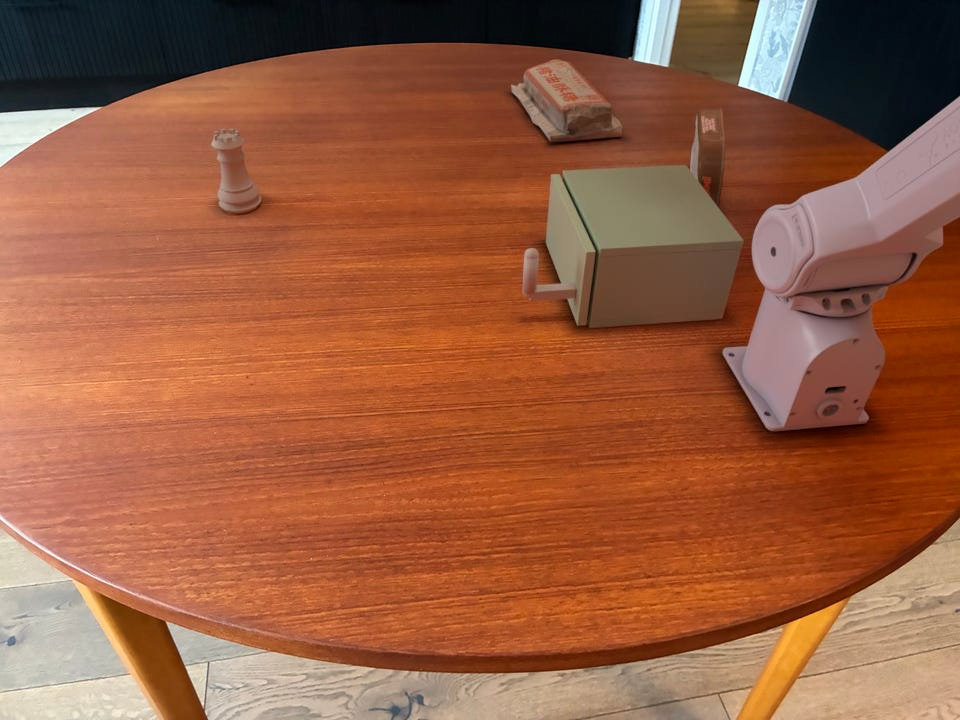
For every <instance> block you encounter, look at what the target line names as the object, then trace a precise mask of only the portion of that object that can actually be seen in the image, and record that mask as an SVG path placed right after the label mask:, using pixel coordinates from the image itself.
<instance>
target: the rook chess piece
mask: <svg viewBox="0 0 960 720" xmlns="http://www.w3.org/2000/svg"><path fill="white" fill-rule="evenodd" d="M212 136H213V139H212V141H211V144H210V145H211V147H212V148H213V149H214V150H215V151H217V156H216V160H217V161H218V162H219V166H220V177H221V178H220V179H221V180H220V183H219V188H218V190H217V198H218V206H219V208H221V209H222V210H223V211H225V212H227V213H230V214H234V215H235V214H236V215H237V214H246V213H250V212H252V211H254V210H256V209H257V208H258V207H259V206H260V204H261V202H262V196H261V195H260V189H259V187H258V185H257V184H256V183H254V180H253V178H251V176H250V174H249V172H248V169H247V167H246V166H247V165H246V163H245V156H246V154H245V152H244V151H243V149H242V148H243V146H244V144H245V139H244V137H242V136H241V135H240V131H239V129H237V130H236V129H235V128H231V127H230V128H229V132H227V129H226V128H220V131H219V130H215V131H214V132H213V135H212Z"/></svg>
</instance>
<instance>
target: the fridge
mask: <svg viewBox="0 0 960 720" xmlns="http://www.w3.org/2000/svg"><path fill="white" fill-rule="evenodd" d="M561 179H562V181H563V183H564V185H565V187H566V189H567V191H568V194H569V196H570V198H571V200H572V202H573V204H574V206H575V209H576V211H577V213H578V215H579V217H580V219H581V221H582V223H583V226H584V228H585V230H586V232H587V234H588V236H589V238H590V240H591V243H592V245H593V247H594V249H595V251H596V254H595V261H594V269H593V277H592V284H591V292H590V299H589V307H588V315H587V322H586V323H587V325H588V327H589V329H598V328H599V329H600V328H612V327H627V326H640V325H641V326H643V325H655V324H658V325H659V324H672V323H685V322H699V321H714V320H722V319H724V318H723V317H724V314H725V310H726V306H727V303H728V299H729V296H730V292H731V288H732V284H733V281H734V278H735V274H736V270H737V266H738V262H739V260H740V256H741V253H742V252H741V251H742V248H743V245H744V239H743V238H742V236H741V234H739V232H738V231H737V230H736V228H735V227H734V226H733V224H732V223H731V222H730V220H729V219H728V218H727V217H726V215H725V214H724V212H723V211H722V210H721V209H720V207H719V205H718V206H717V205H716V204H715V202H714V201H713V200H712V198H711V197H710V196H709V195H708V193H707V192H706V191H705V189H704V188H703V187H702V185H701V184H700V183H699V181H698V180H697V179H696V178H695V176H694V175H693V174H692V172H691V171H690V167H688V166H687V165H686V164H675V165H671V164H670V165H651V166H650V165H649V166H629V167H609V168H588V169H586V168H585V169H567V170H566V169H565V170H562V175H561Z"/></svg>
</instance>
